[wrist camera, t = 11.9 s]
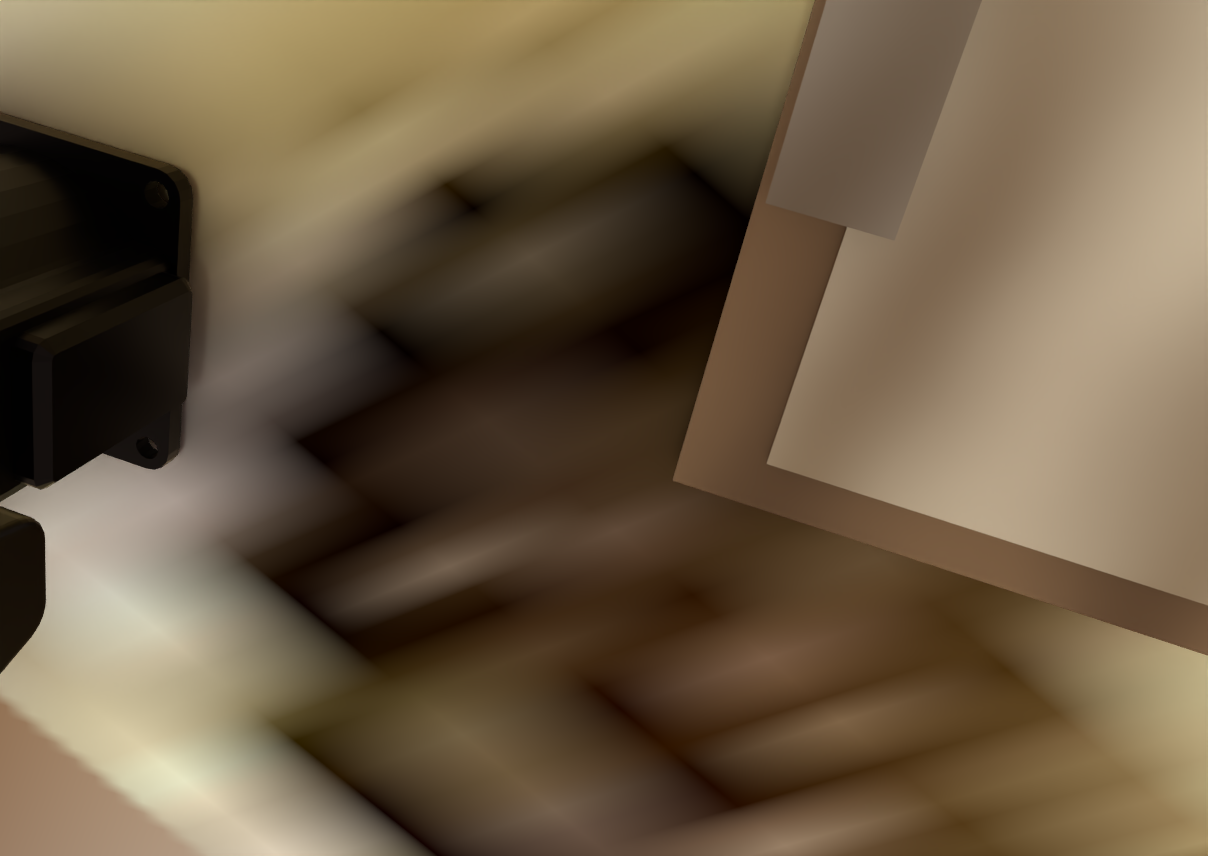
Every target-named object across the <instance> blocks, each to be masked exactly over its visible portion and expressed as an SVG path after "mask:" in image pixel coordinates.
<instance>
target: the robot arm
mask: <svg viewBox="0 0 1208 856" xmlns="http://www.w3.org/2000/svg"><path fill="white" fill-rule="evenodd" d="M158 182H159V183H161V184H162V185H163V186H164V187H165V189H166V190H167V192H168V197H169V200H168V203H167V202H165V201H163V200H162V198H161V197H160V195H159V194H158V189H157V186H158ZM192 207H193V194H192V187H191V185H190V183H189V181H188V179H187V177H186V176H185V175H184V174H183V173H182V172H181V171H180V170H179V169H177V168H175V167H173V166H172V165H169V164H166V163H162V162H159V161H156V160H153V159H149V158H146V157H143V156H140V155H136V154H133V153H130V152H127V151H123V150H120V149H117V148H114V147H110V146H107V145H104V144H101V143H97V142H94V141H91V140H88V139H84V138H81V137H78V136H75V135H71V134H68V133H65V132H62V131H58V130H55V129H52V128H49V127H45V126H42V125H39V124H36V123H32V122H29V121H26V120H23V119H19V118H16V117H13V116H9V115H6V114H3V113H0V502H1V501H2V500H4V499H6V498H7V497H9V496H11V495H12V494H14V493H16V492H17V491H19V490H21V489H22V488H24V487H25V486H27V485H29V486H32V487H35V488H38V489H40V490H41V489H44V488H47V487H49V486H50V485H52V484H54V483H55V482H57V481H59V480H60V479H62V478H63V477H65V476H67V475H68V474H70V473H71V472H73V471H75V470H76V469H78V468H79V467H81V466H83V465H84V464H86V463H87V462H89V461H91V460H92V459H94V458H95V457H97V456H99V455H100V454H102V453H104V454H107V455H109V456H112V457H115V458H118V459H121V460H124V461H127V462H130V463H133V464H135V465H138V466H141V467H144V468H148V469H154V470H155V469H158V468H162V467H163V466H164V465H166V464H167V463H169V462H170V461H172V460H173V459H174V458H175V457H176V456H177V455H178V452H179V448H180V433H181V414H182V403H183V402H184V401H185V400H186V397H187V383H188V364H189V346H190V328H191V310H192V291H191V288H190V285H189V283H188V282H189V263H190V245H191V226H192ZM148 438H149V439H151V440H153V441H154V443H155V444H156V445H157V449H158V450H156V449H155V448H153V447H152V446H151V444H150V443H149V440H148ZM45 604H46V575H45V535H44V531H43V529H42V527H41V525H40V523H39V522H37V521H36V520H35V519H33V518H31V517H28V516H26V515H23V514H20V513H17V512H15V511H12V510H9V509H6V508H4V507H1V506H0V674H1V672H2V671H3V670H4V669H5V668H6V667H7V665H8V664H9V663H10V662H11V661H12V659H13V658H14V657H15V656H16V655H17V653H18V652H19V651H20V650H21V649H22V647H23V646H24V645H25V644H26V643H27V642H28V640H29V639H30V638H31V637H32V635H33V634H34V632H35V631H36V629H37V627H38V626H39V624H40V622H41V619H42V617H43V614H44V610H45Z"/></svg>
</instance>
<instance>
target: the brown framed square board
mask: <svg viewBox="0 0 1208 856" xmlns="http://www.w3.org/2000/svg"><path fill="white" fill-rule="evenodd" d="M672 481H675V482H678V483H682V484H685V485H688V486H691V487H694V488H697V489H700V490H703V491H706V492H709V493H712V494H715V495H718V496H721V497H724V498H727V499H731V500H734V501H737V502H740V503H743V504H746V505H749V506H752V507H755V508H758V509H761V510H764V511H767V512H770V513H773V514H776V515H779V516H783V517H786V518H789V519H792V520H795V521H798V522H801V523H804V524H807V525H810V526H813V527H816V528H819V529H822V530H825V531H828V532H832V533H835V534H838V535H841V536H844V537H847V538H850V539H853V540H856V541H859V542H862V543H865V544H868V545H871V546H874V547H877V548H880V549H884V550H887V551H890V552H893V553H896V554H899V555H902V556H905V557H908V558H911V559H914V560H917V561H920V562H923V563H926V564H929V565H933V566H936V567H939V568H942V569H945V570H948V571H951V572H954V573H957V574H960V575H963V576H966V577H969V578H972V579H975V580H978V581H982V582H985V583H988V584H991V585H994V586H997V587H1000V588H1003V589H1006V590H1009V591H1012V592H1015V593H1018V594H1021V595H1024V596H1027V597H1030V598H1034V599H1037V600H1040V601H1043V602H1046V603H1049V604H1052V605H1055V606H1058V607H1061V608H1064V609H1067V610H1070V611H1073V612H1076V613H1079V614H1083V615H1086V616H1089V617H1092V618H1095V619H1098V620H1101V621H1104V622H1107V623H1110V624H1113V625H1116V626H1119V627H1122V628H1125V629H1128V630H1132V631H1135V632H1138V633H1141V634H1144V635H1147V636H1150V637H1153V638H1156V639H1159V640H1162V641H1165V642H1168V643H1171V644H1174V645H1177V646H1180V647H1184V648H1187V649H1190V650H1193V651H1196V652H1199V653H1202V654H1205V655H1208V0H815V2H814V6H813V9H812V12H811V16H810V19H809V22H808V26H807V29H806V33H805V36H804V39H803V43H802V46H801V49H800V53H799V56H798V59H797V63H796V66H795V70H794V73H793V76H792V80H791V83H790V86H789V90H788V93H787V96H786V100H785V103H784V107H783V110H782V113H781V117H780V120H779V123H778V127H777V130H776V134H775V137H774V140H773V144H772V147H771V150H770V154H769V157H768V160H767V164H766V167H765V171H764V174H763V177H762V181H761V184H760V187H759V191H758V194H757V197H756V201H755V204H754V208H753V211H752V214H751V218H750V221H749V224H748V228H747V231H746V234H745V238H744V241H743V245H742V248H741V251H740V255H739V258H738V261H737V265H736V268H735V272H734V275H733V278H732V282H731V285H730V288H729V292H728V295H727V298H726V302H725V305H724V309H723V312H722V315H721V319H720V322H719V325H718V329H717V332H716V335H715V339H714V342H713V346H712V349H711V352H710V356H709V359H708V362H707V366H706V369H705V373H704V376H703V379H702V383H701V386H700V389H699V393H698V396H697V399H696V403H695V406H694V410H693V413H692V416H691V420H690V423H689V426H688V430H687V433H686V436H685V440H684V443H683V447H682V450H681V453H680V457H679V460H678V463H677V467H676V470H675V474H674V477H673V480H672Z"/></svg>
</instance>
